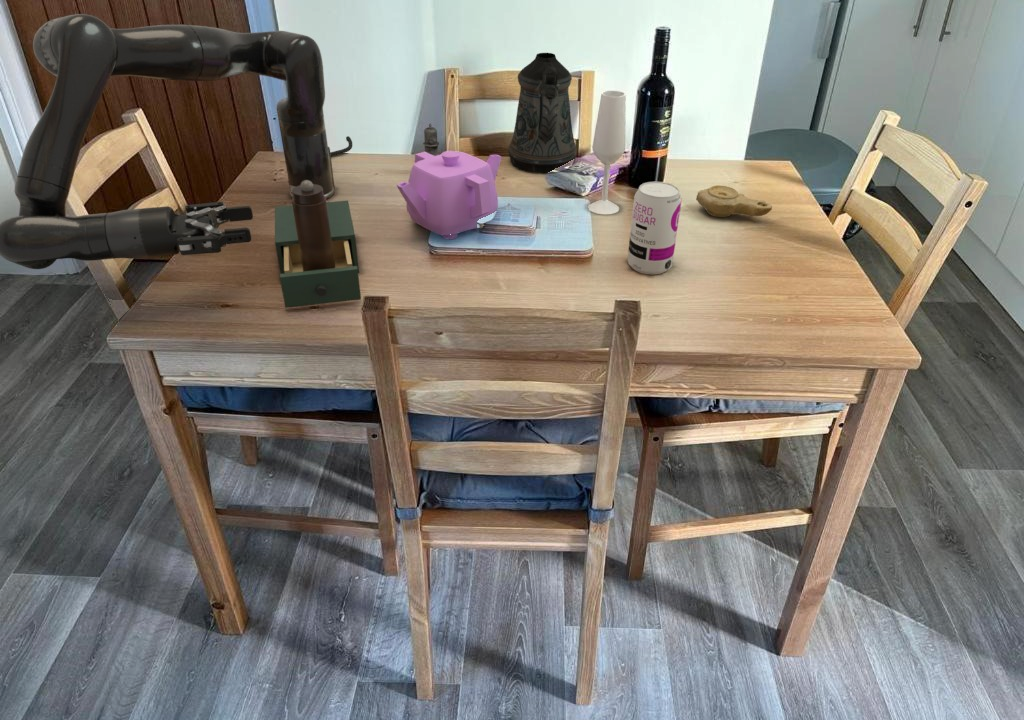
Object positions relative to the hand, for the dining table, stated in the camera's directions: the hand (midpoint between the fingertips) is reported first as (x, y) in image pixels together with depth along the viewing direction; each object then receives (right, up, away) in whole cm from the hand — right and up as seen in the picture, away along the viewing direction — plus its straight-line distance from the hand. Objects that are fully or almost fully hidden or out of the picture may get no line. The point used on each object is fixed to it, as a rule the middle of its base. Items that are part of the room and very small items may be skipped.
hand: (251, 223), depth 122 cm
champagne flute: (+62, +10, +41) cm, 75 cm away
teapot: (+30, +5, +33) cm, 45 cm away
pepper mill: (+9, -8, +9) cm, 15 cm away
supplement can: (+68, -5, +19) cm, 70 cm away
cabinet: (+6, -3, +20) cm, 21 cm away
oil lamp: (+88, +9, +39) cm, 97 cm away
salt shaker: (+23, +21, +55) cm, 64 cm away
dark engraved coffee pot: (+50, +25, +62) cm, 84 cm away
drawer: (+9, -9, +10) cm, 16 cm away
